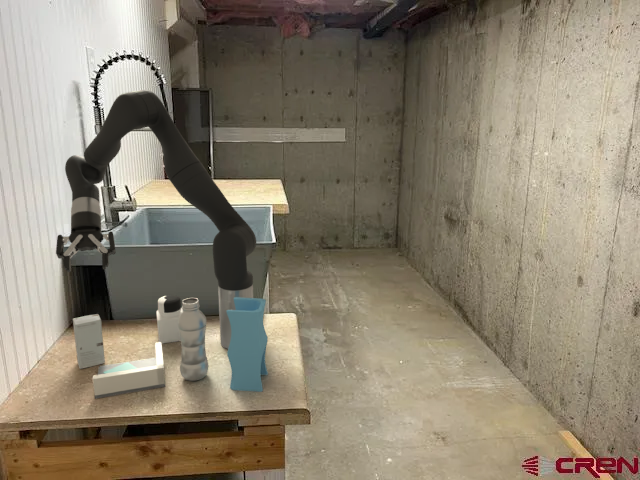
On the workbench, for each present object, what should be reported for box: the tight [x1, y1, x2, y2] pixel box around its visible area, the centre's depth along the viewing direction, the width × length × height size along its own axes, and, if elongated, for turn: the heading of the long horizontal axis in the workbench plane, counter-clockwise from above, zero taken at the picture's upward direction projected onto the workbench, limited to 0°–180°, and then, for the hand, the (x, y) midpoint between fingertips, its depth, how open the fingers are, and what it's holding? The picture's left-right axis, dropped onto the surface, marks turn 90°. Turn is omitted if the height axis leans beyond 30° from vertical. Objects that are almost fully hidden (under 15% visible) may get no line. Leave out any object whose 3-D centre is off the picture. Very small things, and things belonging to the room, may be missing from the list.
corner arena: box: [92, 341, 166, 399], centre depth 114 cm, size 15×13×5 cm
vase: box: [226, 297, 269, 393], centre depth 111 cm, size 8×8×20 cm
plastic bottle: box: [178, 297, 210, 382], centre depth 113 cm, size 6×7×20 cm
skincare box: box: [72, 313, 106, 370], centre depth 119 cm, size 6×4×12 cm
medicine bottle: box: [155, 294, 184, 345], centre depth 133 cm, size 7×7×12 cm
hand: (86, 269), depth 126 cm, fingers open, 8 cm apart
